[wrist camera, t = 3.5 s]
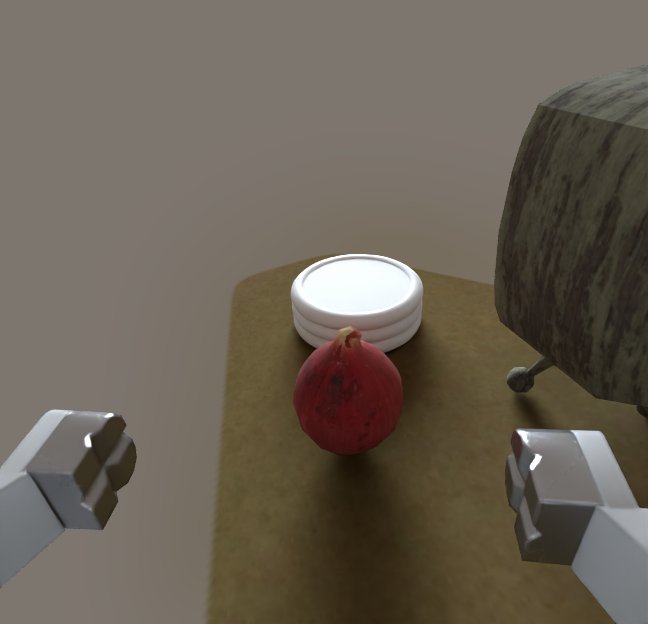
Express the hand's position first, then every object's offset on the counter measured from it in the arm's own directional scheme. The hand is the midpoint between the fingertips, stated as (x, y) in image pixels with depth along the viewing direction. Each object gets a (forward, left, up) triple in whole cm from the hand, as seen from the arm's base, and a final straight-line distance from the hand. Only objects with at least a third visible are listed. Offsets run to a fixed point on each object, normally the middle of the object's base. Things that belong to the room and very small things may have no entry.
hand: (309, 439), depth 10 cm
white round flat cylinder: (+24, +7, -14) cm, 28 cm away
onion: (+12, +3, -14) cm, 19 cm away
